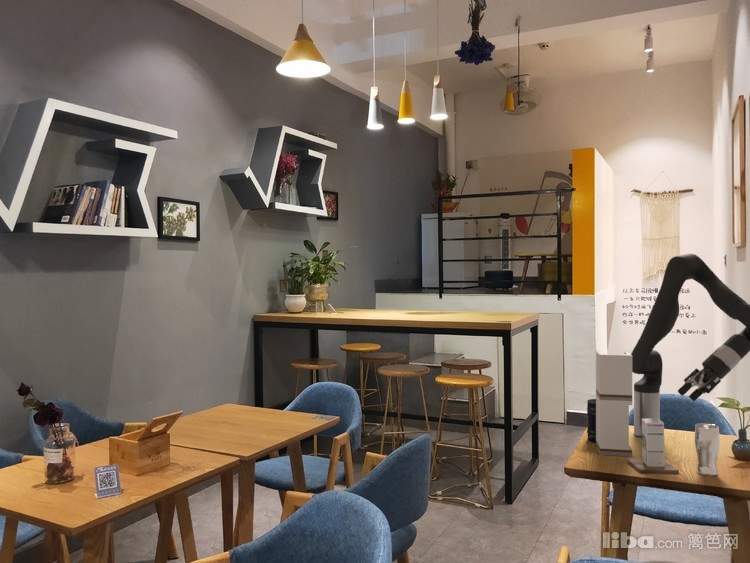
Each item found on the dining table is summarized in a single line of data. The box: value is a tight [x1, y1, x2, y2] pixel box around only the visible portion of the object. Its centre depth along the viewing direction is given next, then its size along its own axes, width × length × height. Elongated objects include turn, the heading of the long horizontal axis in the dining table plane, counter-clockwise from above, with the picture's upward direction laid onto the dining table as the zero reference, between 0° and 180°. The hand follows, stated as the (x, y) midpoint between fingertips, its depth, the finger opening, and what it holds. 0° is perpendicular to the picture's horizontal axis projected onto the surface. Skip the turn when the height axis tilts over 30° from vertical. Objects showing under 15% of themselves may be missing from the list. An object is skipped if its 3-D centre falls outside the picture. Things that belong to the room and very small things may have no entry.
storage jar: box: [586, 398, 596, 444], centre depth 234 cm, size 10×10×15 cm
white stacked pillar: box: [595, 350, 633, 457], centre depth 221 cm, size 11×11×35 cm
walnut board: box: [626, 458, 680, 474], centre depth 202 cm, size 12×12×1 cm
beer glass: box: [694, 422, 720, 477], centre depth 196 cm, size 7×7×15 cm
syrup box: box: [641, 418, 666, 467], centre depth 202 cm, size 6×6×14 cm
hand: (685, 396), depth 204 cm, fingers open, 8 cm apart
